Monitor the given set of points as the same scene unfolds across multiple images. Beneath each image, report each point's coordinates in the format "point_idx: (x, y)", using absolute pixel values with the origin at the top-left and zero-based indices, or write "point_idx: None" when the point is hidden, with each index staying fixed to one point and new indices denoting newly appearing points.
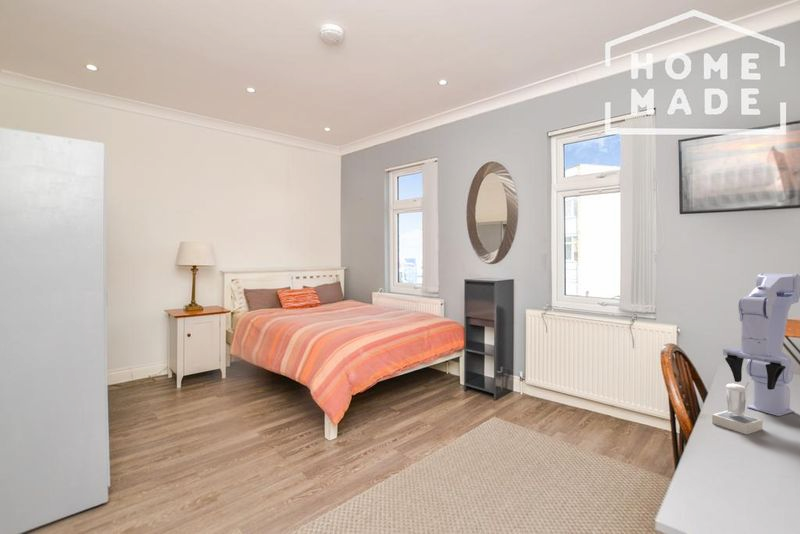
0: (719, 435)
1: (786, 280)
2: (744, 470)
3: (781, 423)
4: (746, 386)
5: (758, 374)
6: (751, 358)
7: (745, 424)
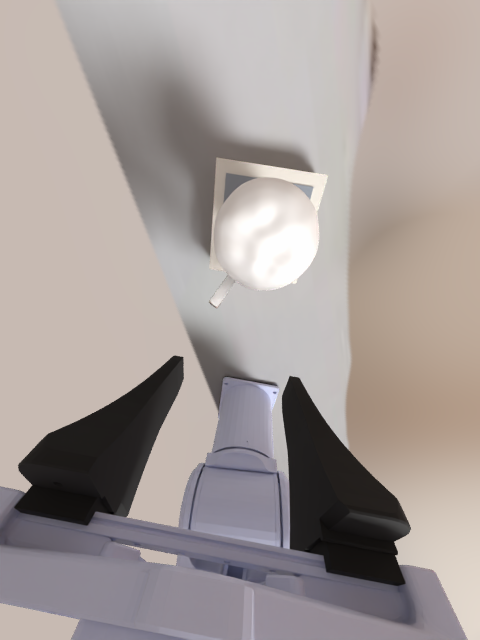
0: (275, 29)
1: None
2: None
3: (208, 340)
4: (225, 283)
5: (258, 479)
6: (221, 551)
7: (221, 161)
